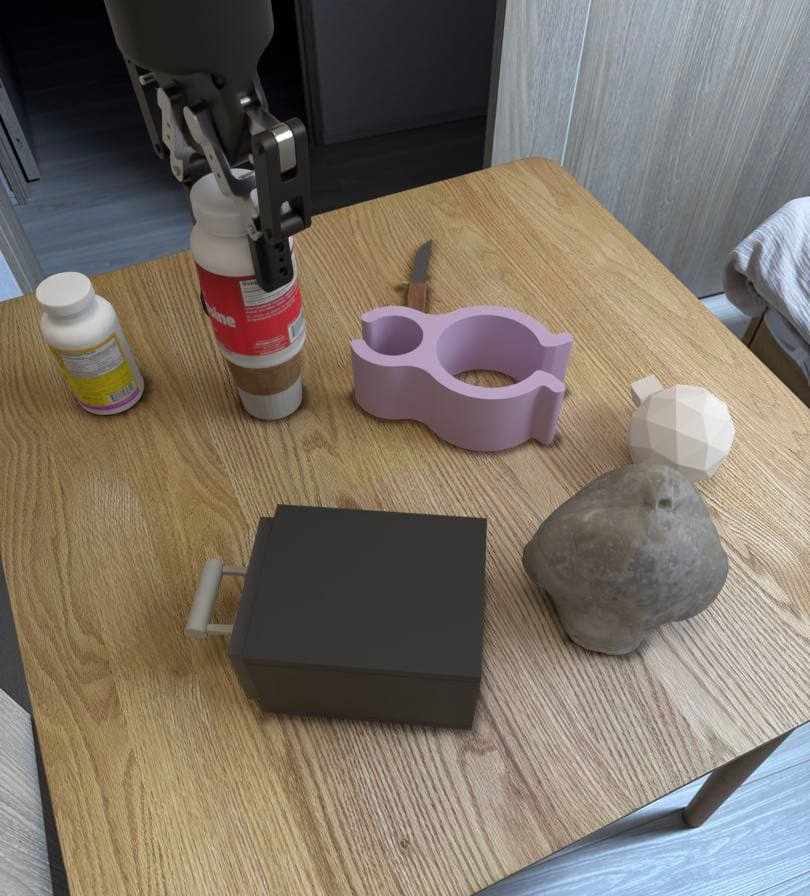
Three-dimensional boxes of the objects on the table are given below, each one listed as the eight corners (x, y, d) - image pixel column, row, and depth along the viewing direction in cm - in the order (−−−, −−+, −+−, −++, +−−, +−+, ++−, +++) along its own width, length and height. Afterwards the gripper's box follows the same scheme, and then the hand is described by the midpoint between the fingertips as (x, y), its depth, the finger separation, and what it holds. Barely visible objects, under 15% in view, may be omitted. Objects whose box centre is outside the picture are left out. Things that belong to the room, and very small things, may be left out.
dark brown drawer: (191, 694, 57) (163, 649, 50) (225, 566, 63) (204, 511, 56) (440, 715, 55) (443, 671, 49) (449, 583, 62) (453, 529, 55)
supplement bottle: (89, 370, 78) (37, 262, 67) (152, 371, 77) (110, 264, 67) (70, 417, 74) (12, 312, 63) (137, 419, 74) (90, 313, 63)
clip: (343, 427, 73) (337, 375, 67) (375, 342, 79) (373, 287, 74) (549, 463, 70) (561, 411, 64) (564, 372, 77) (577, 317, 71)
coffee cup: (213, 399, 75) (173, 271, 63) (278, 357, 78) (252, 227, 66) (266, 443, 72) (235, 317, 59) (332, 397, 75) (316, 269, 63)
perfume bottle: (753, 483, 66) (688, 400, 74) (755, 411, 59) (683, 328, 67) (660, 522, 67) (605, 436, 75) (650, 456, 60) (591, 369, 68)
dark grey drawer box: (265, 712, 57) (240, 658, 49) (294, 571, 64) (276, 503, 56) (471, 730, 56) (481, 677, 48) (477, 584, 63) (487, 517, 55)
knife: (406, 233, 88) (432, 234, 88) (406, 241, 89) (432, 242, 89) (395, 328, 79) (423, 329, 79) (395, 335, 80) (423, 336, 80)
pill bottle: (207, 326, 53) (164, 175, 44) (289, 302, 54) (264, 151, 45) (233, 383, 50) (192, 233, 40) (320, 356, 51) (300, 205, 42)
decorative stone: (513, 649, 59) (539, 544, 47) (515, 542, 65) (539, 423, 53) (707, 666, 58) (786, 563, 46) (692, 555, 64) (759, 437, 52)
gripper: (342, -53, 31) (364, 288, 45) (162, -136, 37) (231, 187, 51) (185, -1, 28) (260, 345, 42) (19, -100, 34) (132, 230, 48)
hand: (244, 257), depth 46 cm, fingers closed on pill bottle, 6 cm apart
